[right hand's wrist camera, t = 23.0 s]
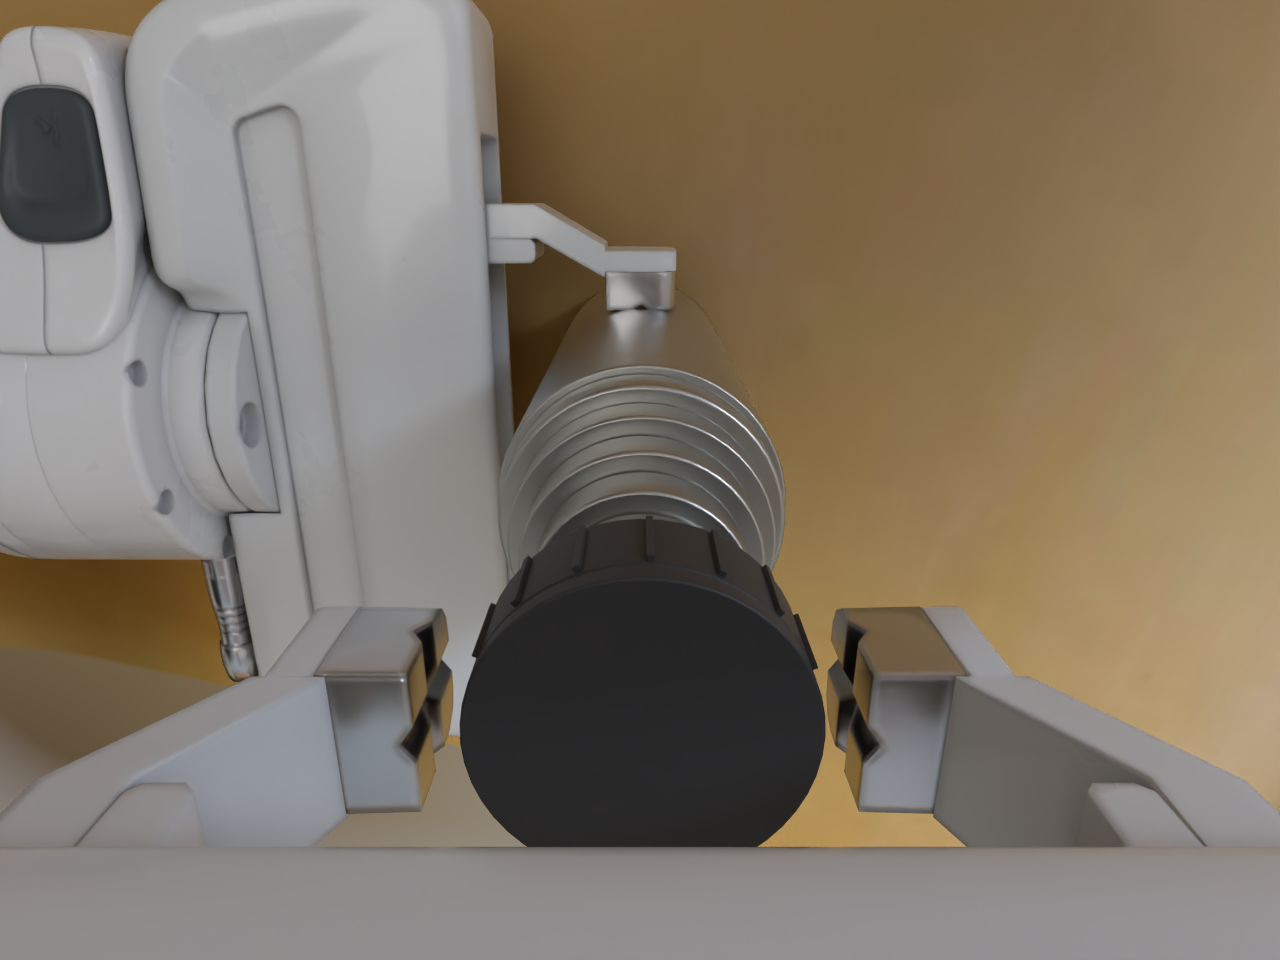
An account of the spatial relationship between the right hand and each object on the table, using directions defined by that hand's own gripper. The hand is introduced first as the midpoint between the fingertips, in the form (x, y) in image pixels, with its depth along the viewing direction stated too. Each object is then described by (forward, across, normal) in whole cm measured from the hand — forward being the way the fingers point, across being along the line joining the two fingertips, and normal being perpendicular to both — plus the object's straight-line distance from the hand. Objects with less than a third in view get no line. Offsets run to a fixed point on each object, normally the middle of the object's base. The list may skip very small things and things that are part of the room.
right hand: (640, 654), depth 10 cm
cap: (-1, 0, 0) cm, 1 cm away
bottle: (+18, 0, 0) cm, 18 cm away
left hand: (+12, -1, 0) cm, 13 cm away
